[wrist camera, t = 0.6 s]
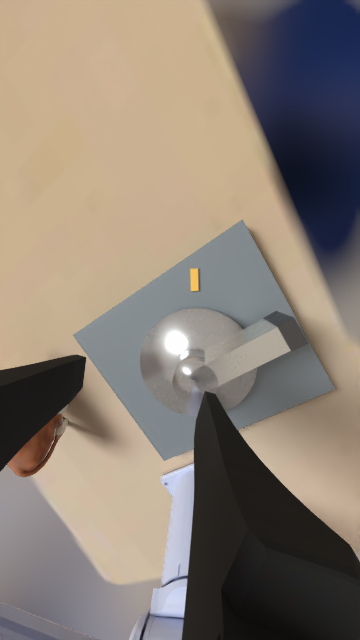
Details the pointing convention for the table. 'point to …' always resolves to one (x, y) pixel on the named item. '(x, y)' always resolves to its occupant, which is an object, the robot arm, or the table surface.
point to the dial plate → (215, 293)
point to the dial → (211, 356)
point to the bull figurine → (39, 447)
